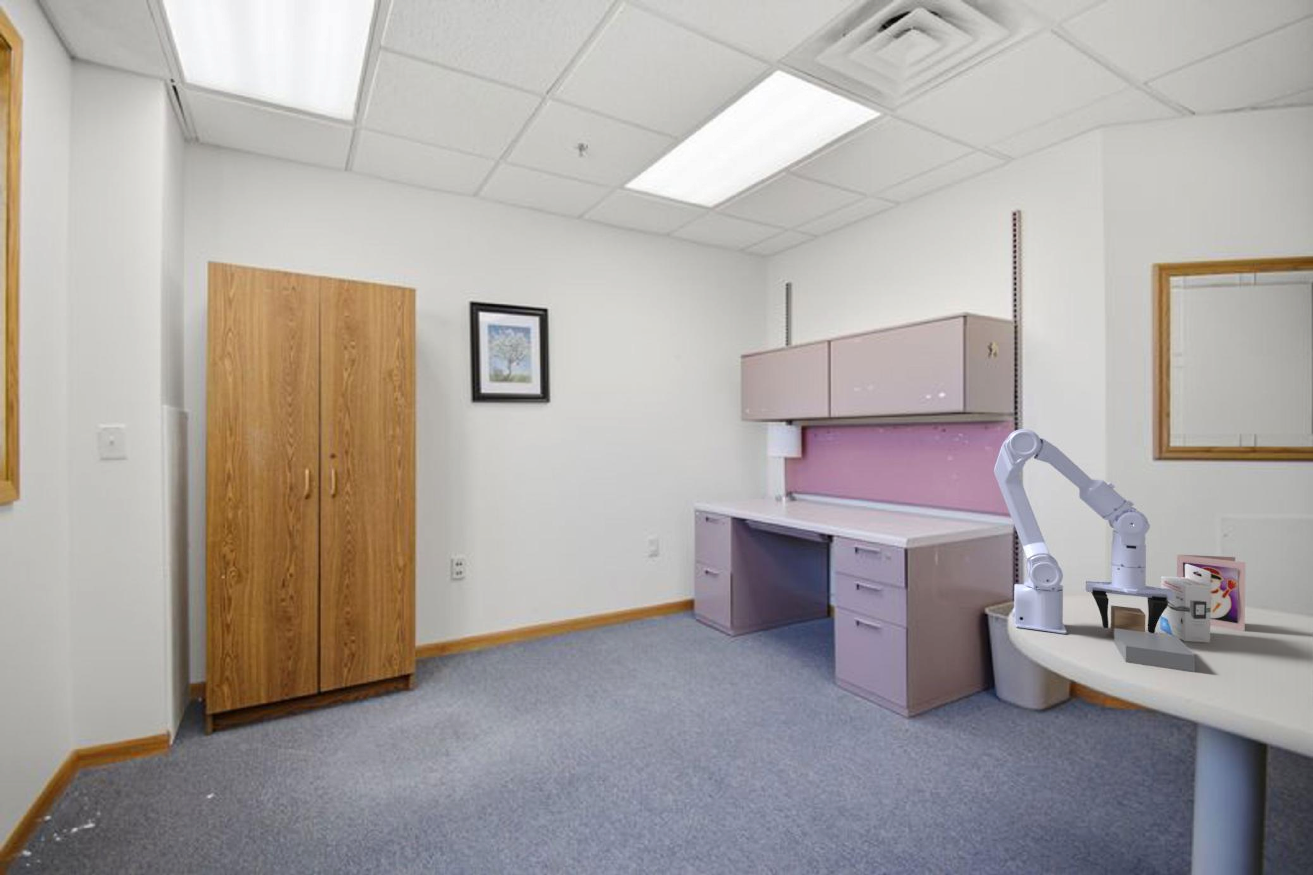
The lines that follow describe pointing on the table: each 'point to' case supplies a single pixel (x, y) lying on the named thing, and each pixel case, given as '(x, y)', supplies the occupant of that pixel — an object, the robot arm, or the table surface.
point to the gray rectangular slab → (1154, 649)
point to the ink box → (1188, 605)
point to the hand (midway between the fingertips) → (1127, 629)
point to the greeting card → (1221, 588)
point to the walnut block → (1127, 619)
